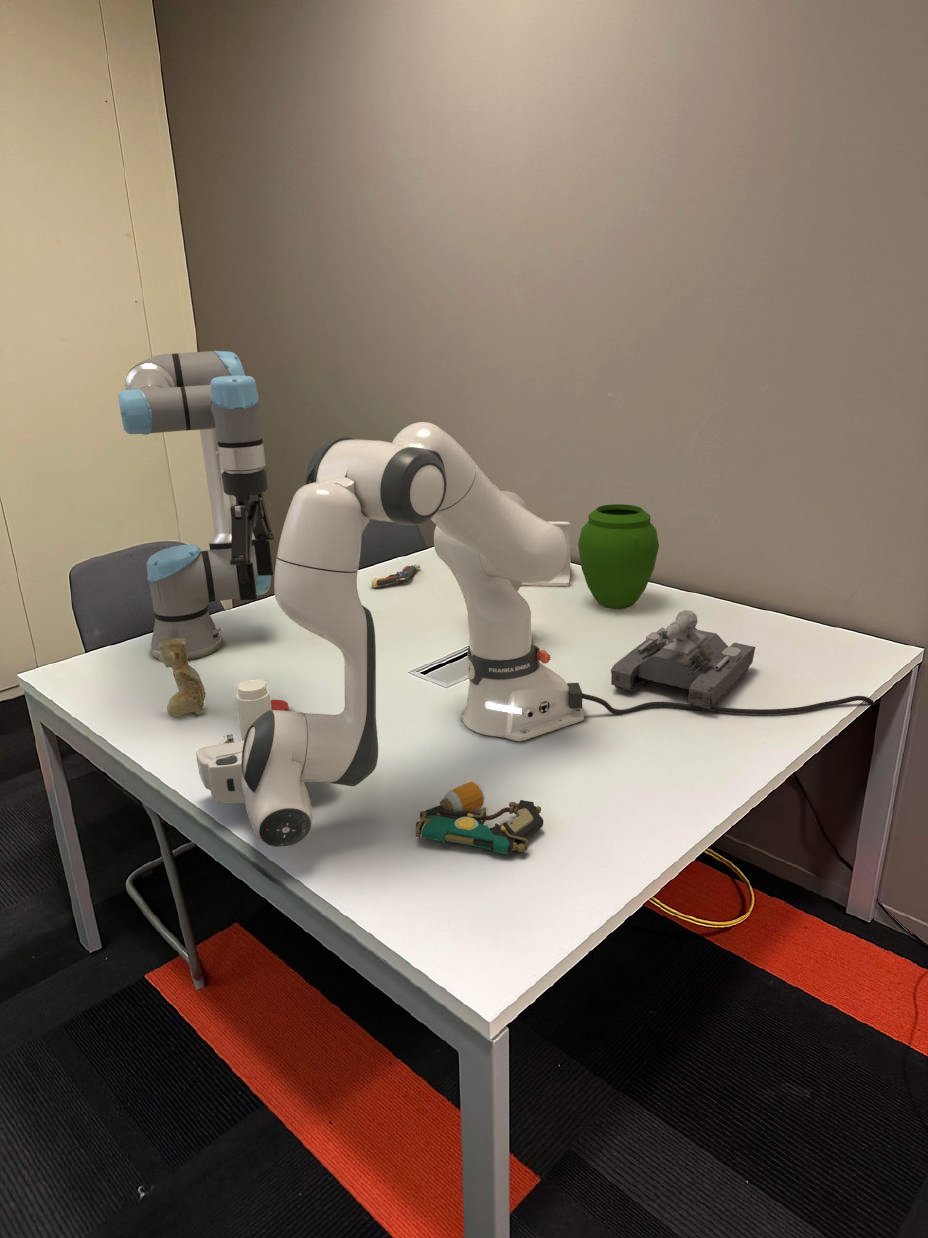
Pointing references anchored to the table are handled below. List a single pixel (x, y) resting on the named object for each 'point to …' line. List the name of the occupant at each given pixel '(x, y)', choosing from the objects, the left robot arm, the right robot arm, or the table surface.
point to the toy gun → (396, 576)
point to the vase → (618, 554)
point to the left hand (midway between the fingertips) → (257, 586)
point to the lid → (279, 705)
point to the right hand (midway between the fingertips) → (257, 733)
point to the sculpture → (182, 678)
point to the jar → (251, 703)
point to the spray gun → (478, 821)
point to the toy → (685, 662)
